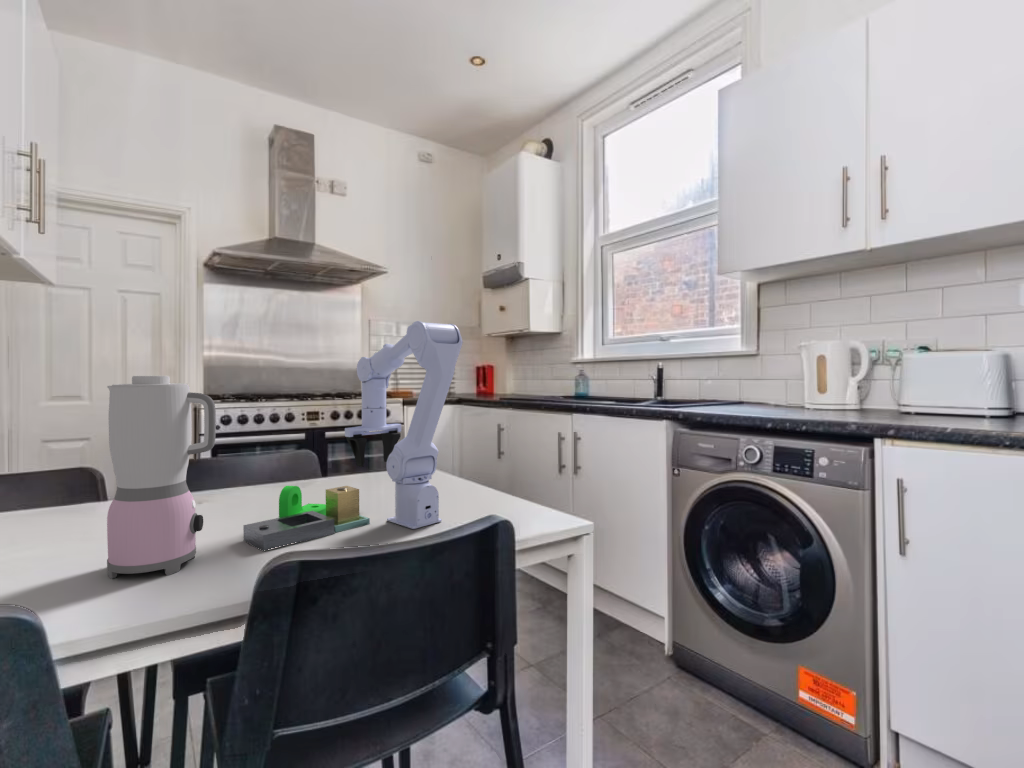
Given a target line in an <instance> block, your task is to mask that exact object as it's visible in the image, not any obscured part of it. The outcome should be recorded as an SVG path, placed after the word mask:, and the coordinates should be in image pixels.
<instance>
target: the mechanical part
mask: <svg viewBox="0 0 1024 768" xmlns="http://www.w3.org/2000/svg"><path fill="white" fill-rule="evenodd" d="M302 501H303V495H302V490H301V487H299V486H298V485H285V486H284V487H283V488H281V491H280V493H279V497H278V518H280V517H285V516H290V515H294V514H299V513H304V512H309V511H315V512H317V513H320V514H323V515H325V516H326V503H325V504H324V503H307V504H305V505H303V502H302ZM302 505H303V506H302Z"/></svg>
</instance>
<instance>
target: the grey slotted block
mask: <svg viewBox="0 0 1024 768" xmlns="http://www.w3.org/2000/svg"><path fill="white" fill-rule="evenodd" d="M242 530H243V542H245V541H246V542H245V543H247V542H248V544H249V545H251V546H252V545H253V546H252V547H254V546H255V547H254V548H256V547H257V548H256V549H258V548H259V549H258V550H260V549H261V550H263V551H264V550H268V549H271V548H275V547H279V546H283V545H287V544H291V543H295V542H299V543H301V542H300V541H303V542H307V541H311V540H315V539H317V538H318V539H319V538H323V537H327V536H330V535H335V532H334V519H333V518H331V517H328V516H325V515H323V514H320V513H317V512H315V511H309V512H304V513H299V514H294V515H290V516H285V517H280V518H279V517H277V518H271V519H267V520H263V521H257V522H252V523H247V524H243V529H242ZM306 540H307V541H306ZM295 544H296V543H295ZM261 550H260V551H261ZM263 551H262V552H263ZM268 551H269V550H268ZM264 552H265V551H264Z"/></svg>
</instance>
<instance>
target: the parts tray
mask: <svg viewBox="0 0 1024 768" xmlns="http://www.w3.org/2000/svg"><path fill="white" fill-rule="evenodd" d="M370 523H371V522H370V518H369V517H367V516H365V515H361V514H359V520H357V521H353V522H349V523H345V524H341V525H337V526H336V525H334V533H338V532H343V531H347V530H350V529H355V528H359V527H363V526H366V525H370Z"/></svg>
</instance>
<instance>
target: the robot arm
mask: <svg viewBox="0 0 1024 768" xmlns="http://www.w3.org/2000/svg"><path fill="white" fill-rule="evenodd" d="M463 343H464V342H463V337H462V335H461V331H460V329H459V328H458V326H457V325H456V324H453V323H448V324H447V323H438V322H437V323H436V322H424V321H421V320H416V321H413V322H412V324H410V325H409V326H407V328H406V334H405V335H404V336H402V338H401V339H400V340H398V341H397V342H396V343H394V344H391V343H385V344H384V345H382V348H380V349H379V351H377V352H375V353H373V355H372V356H371V357H366V356H362V357H360V358H359V359H358V361H357V365H356V376H357V378H358V380H359V381H360V382H361V425H359V426H352V427H345V428H344V436H345V437H346V441H347V443H348V444H349V446H350V448H351V450H352V453H353V456H354V460H355V464H356V466H357V467H360V468H362V467H365V458H366V457H365V454H366V446H367V441H368V439H367V438H366V437H364V436H368V435H377V434H378V435H379V434H380V436H381V441H382V446H383V447H382V448H383V449H382V450H383V455H382V456H383V462H384V463H386V467H385V468H386V472H387V475H388V476H389V477H390V479H391V480H392V482H393V483H394V488H395V491H394V494H395V495H394V497H395V498H394V499H395V500H394V507H395V509H394V515H395V516H391V517H387V518H386V521H387V522H390V523H394V524H396V525H399V526H402V527H405V528H409V529H412V530H415V529H419V528H423V527H425V526H430V525H433V524H436V523H441V522H442V518H440V517H439V512H440V511H439V510H440V509H439V503H440V502H439V498H440V497H439V491H438V489H437V487H436V486H434V485H433V484H431V483H430V481H431V480H432V478H433V477H432V476H433V475H434V474H435V472H436V470H437V466H438V455H439V452H440V451H439V449H438V447H437V446H436V445H435V443H434V442H433V439H434V436H435V434H436V433H435V432H436V429H437V426H438V424H439V420H440V418H441V415H442V412H443V408H444V406H445V403H446V399H447V396H448V394H449V393H448V392H449V390H450V387H451V384H452V381H453V378H454V375H455V370H456V369H455V368H456V364H457V362H458V359H459V355H460V352H461V349H462V346H463ZM410 355H413V357H414V358H415V360H416V362H417V363H418V365H419V367H421V368H423V369H425V376H424V379H423V382H422V385H421V387H420V388H421V389H420V392H419V395H418V399H417V401H416V404H415V408H414V412H413V415H412V418H411V421H410V424H409V427H408V430H407V434H406V436H405V437H404V438H402V439H401V436H402V435H401V432H402V423H387V389H388V388H389V386H390V385H389V383H390V382H389V381H390V379H391V376H392V373H393V372H394V371H396V370H398V369H399V368H400V367H402V366H403V365H404V363H405V359H406V357H409V356H410ZM400 439H401V440H400Z"/></svg>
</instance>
